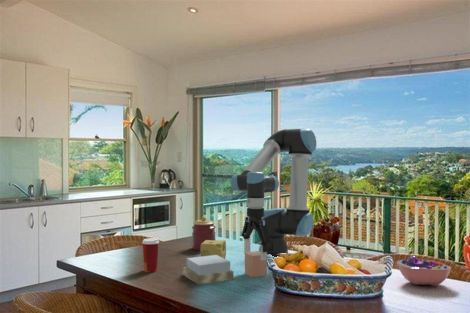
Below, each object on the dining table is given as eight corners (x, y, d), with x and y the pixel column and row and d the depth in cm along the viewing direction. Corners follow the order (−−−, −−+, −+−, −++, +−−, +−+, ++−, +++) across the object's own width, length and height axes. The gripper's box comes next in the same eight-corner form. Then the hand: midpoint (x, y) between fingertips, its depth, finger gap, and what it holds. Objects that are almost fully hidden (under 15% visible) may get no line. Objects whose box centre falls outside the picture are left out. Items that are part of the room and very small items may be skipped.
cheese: (221, 265, 213) (221, 244, 213) (199, 264, 215) (199, 243, 215) (226, 260, 223) (226, 240, 223) (205, 259, 225) (205, 239, 225)
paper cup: (162, 269, 206) (162, 238, 206) (152, 273, 199) (152, 241, 199) (148, 267, 209) (148, 237, 209) (138, 271, 202) (138, 240, 202)
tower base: (216, 271, 204) (216, 263, 204) (233, 280, 190) (233, 271, 190) (183, 276, 197) (183, 267, 197) (198, 286, 183) (198, 276, 183)
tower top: (216, 263, 203) (216, 254, 203) (230, 271, 190) (230, 261, 190) (186, 267, 197) (186, 258, 196) (199, 275, 184) (199, 265, 184)
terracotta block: (258, 271, 203) (258, 251, 202) (266, 275, 196) (266, 254, 196) (244, 273, 199) (244, 252, 199) (253, 277, 193) (252, 256, 193)
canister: (215, 251, 243) (214, 218, 243) (190, 251, 243) (190, 218, 243) (216, 246, 256) (216, 214, 256) (193, 246, 256) (193, 214, 256)
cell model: (448, 294, 169) (448, 264, 169) (392, 286, 180) (392, 257, 179) (453, 283, 183) (453, 255, 183) (401, 276, 194) (401, 249, 194)
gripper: (234, 205, 207) (233, 252, 207) (263, 211, 185) (263, 263, 185) (248, 204, 210) (248, 250, 210) (278, 210, 188) (278, 261, 188)
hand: (255, 256), depth 197 cm, fingers open, 13 cm apart
